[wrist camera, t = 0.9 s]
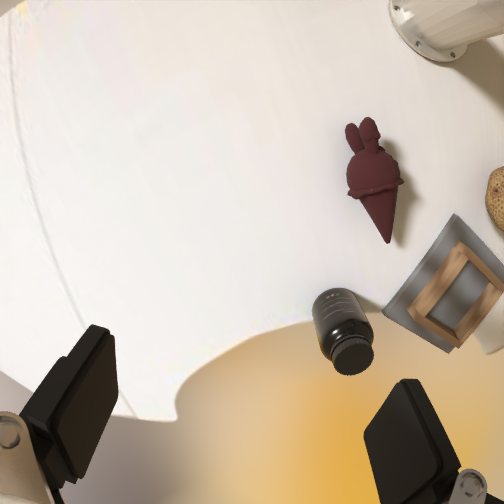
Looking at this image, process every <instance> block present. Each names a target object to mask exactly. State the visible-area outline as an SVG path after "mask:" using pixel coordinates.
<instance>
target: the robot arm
mask: <svg viewBox="0 0 504 504" xmlns="http://www.w3.org/2000/svg"><path fill="white" fill-rule="evenodd" d="M389 11H390V16H391V19H392V22H393V24H394V26H395V28H396V30H397V31H398V33H399V34H400V36H401V37H402V39H403V40H404V41H405V42H406V43H407V44H408V45H409V46H410V47H411V48H412V49H414V50H415V51H416V52H418V53H419V54H421V55H422V56H424V57H426V58H428V59H430V60H434V61H437V62H450V61H454V60H457V59H458V58H460V57H462V55H463V54H464V53H465V52H466V50H467V48H468V44H470V43H473V42H476V41H480V40H483V39H486V38H490V37H494V36H497V35H501V34H504V0H389ZM117 399H118V382H117V370H116V355H115V338H114V336H113V335H111V334H110V331H109V329H106V328H103V327H100V326H97V325H93V324H92V325H90V326H89V328H88V329H87V330H86V332H85V333H84V334H83V336H82V337H81V338H80V339H79V341H78V342H77V343H76V345H75V346H74V348H73V349H72V350H71V352H70V353H69V354H68V356H67V357H65V356H62V357H60V358H59V359H58V360H57V362H56V363H55V364H54V366H53V367H52V368H51V370H50V371H49V373H48V374H47V375H46V377H45V378H44V379H43V381H42V382H41V384H40V385H39V386H38V388H37V389H36V391H35V392H34V394H33V395H32V397H31V398H30V399H29V401H28V402H27V404H26V405H25V407H24V408H23V410H22V411H21V413H20V414H19V416H18V415H16V414H15V413H12V412H8V411H1V412H0V504H67V503H66V501H65V499H64V496H63V494H62V491H61V488H63V485H64V483H65V481H68V482H71V483H73V484H76V481H77V479H78V478H80V479H82V478H83V477H84V475H85V473H86V471H87V468H88V466H89V463H90V461H91V458H92V456H93V454H94V452H95V449H96V447H97V445H98V442H99V440H100V437H101V435H102V433H103V431H104V428H105V426H106V424H107V422H108V419H109V417H110V415H111V413H112V411H113V408H114V406H115V404H116V402H117ZM364 441H365V445H366V449H367V452H368V456H369V459H370V464H371V467H372V471H373V475H374V479H375V483H376V487H377V490H378V495H379V499H380V503H381V504H504V501H502V500H500V499H498V498H496V497H494V496H492V495H490V494H488V493H487V483H486V480H485V478H484V477H483V475H482V474H481V473H480V472H478V471H476V470H474V469H465V470H463V471H461V472H460V473H459V472H458V469H459V468H460V467H461V464H460V462H459V459H458V457H457V455H456V453H455V451H454V449H453V446H452V444H451V442H450V440H449V438H448V436H447V434H446V432H445V430H444V428H443V426H442V424H441V422H440V420H439V418H438V416H437V414H436V412H435V410H434V408H433V406H432V404H431V402H430V400H429V398H428V396H427V394H426V392H425V390H424V389H423V387H422V385H421V383H420V381H419V380H418V379H402V380H400V382H399V383H396V385H395V386H394V388H393V389H392V391H391V392H390V394H389V395H388V397H387V399H386V400H385V402H384V403H383V405H382V406H381V408H380V409H379V411H378V412H377V413H376V415H375V416H374V418H373V419H372V421H371V422H370V424H369V425H368V426H367V428H366V429H365V431H364Z"/></svg>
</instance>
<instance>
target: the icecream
mask: <svg viewBox="0 0 504 504" xmlns="http://www.w3.org/2000/svg"><path fill="white" fill-rule="evenodd" d="M345 134H346V140H347V141H348V143H349V145H350V147H351V149H352V150H353V152H354V153H355V155H354V156H353V157H352V158H351V160H350V162H349V164H348V168H347V173H346V176H347V183H348V186H349V188H350V190H349V191H348V194H347V195H349V196H352V198H354V199H360V201H361V203H362V204H363V206H364V207H365V209H366V211H367V212H368V214H369V215H370V217H371V219H372V220H373V222H374V224H375V225H376V227H377V229H378V230H379V232H380V234H381V236H382V237H383V239H384V241H385V242H386V243H387V244H388V243H390V241H391V235H392V229H393V222H394V214H395V207H396V198H397V189H398V185H401V184H403V183H404V180H402V179H401V178H400V171H399V168H398V163H397V162H396V161H395V160H394V159H393V158H392V156H390V155H389V154H388V153H386V152H385V149H384V148H383V147H381V146H379V143H378V139H380V137H381V136H380V133H379V131H378V129H377V126H376V124H375V122H374V120H372V119H371V118H370V117H366V118H364V119H363V121H362V122H361V123H360V126H359V130H358V128H357V126H356V125H355V124H353V123H350V124H348V125H347V126H346V129H345Z"/></svg>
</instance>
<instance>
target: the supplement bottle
mask: <svg viewBox="0 0 504 504" xmlns="http://www.w3.org/2000/svg"><path fill="white" fill-rule="evenodd" d="M312 316H313V320H314V324H315V328H316V332H317V336H318V341H319V345H320V348H321V351H322V353H323V355H324V356H325V357H326V358H327V359H328V360H330V361H332V363H333V365H334V368H335V369H336V370H337V372H339V373H340V374H343V375H347V376H348V375H356V374H359V373H361V372H363V371H364V370H366V369H367V368H368V367H369V366H370V365H371V363H372V360H373V357H374V352H373V350H372V346H371V345H372V343H373V337H374V335H373V330H372V328H371V325H370V323H369V321H368V319H367V317H366V315H365V313H364V311H363V310H362V308H361V306H360V304H359V302H358V300H357V298H356V297H355V295H354V294H353V293H352V292H350V291H349V290H346V289H343V288H333V289H329V290H327V291H325V292H323V293H322V294H321V295H319V296H318V298H317V299H316V300H315V302H314V304H313V308H312Z"/></svg>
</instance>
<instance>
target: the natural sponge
mask: <svg viewBox="0 0 504 504" xmlns="http://www.w3.org/2000/svg"><path fill="white" fill-rule="evenodd" d="M485 203H486V207H487V210H488V212H489V215H490V217H491V219H492V220H493V222H494V223H495V225H496V226H497V227H498V228H499V229H501V230H502V231H504V166H503V167H500V168H498V169H496V170H494V171H493V172H492V173H491V175H490V177H489V181H488V186H487V192H486V197H485Z"/></svg>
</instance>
